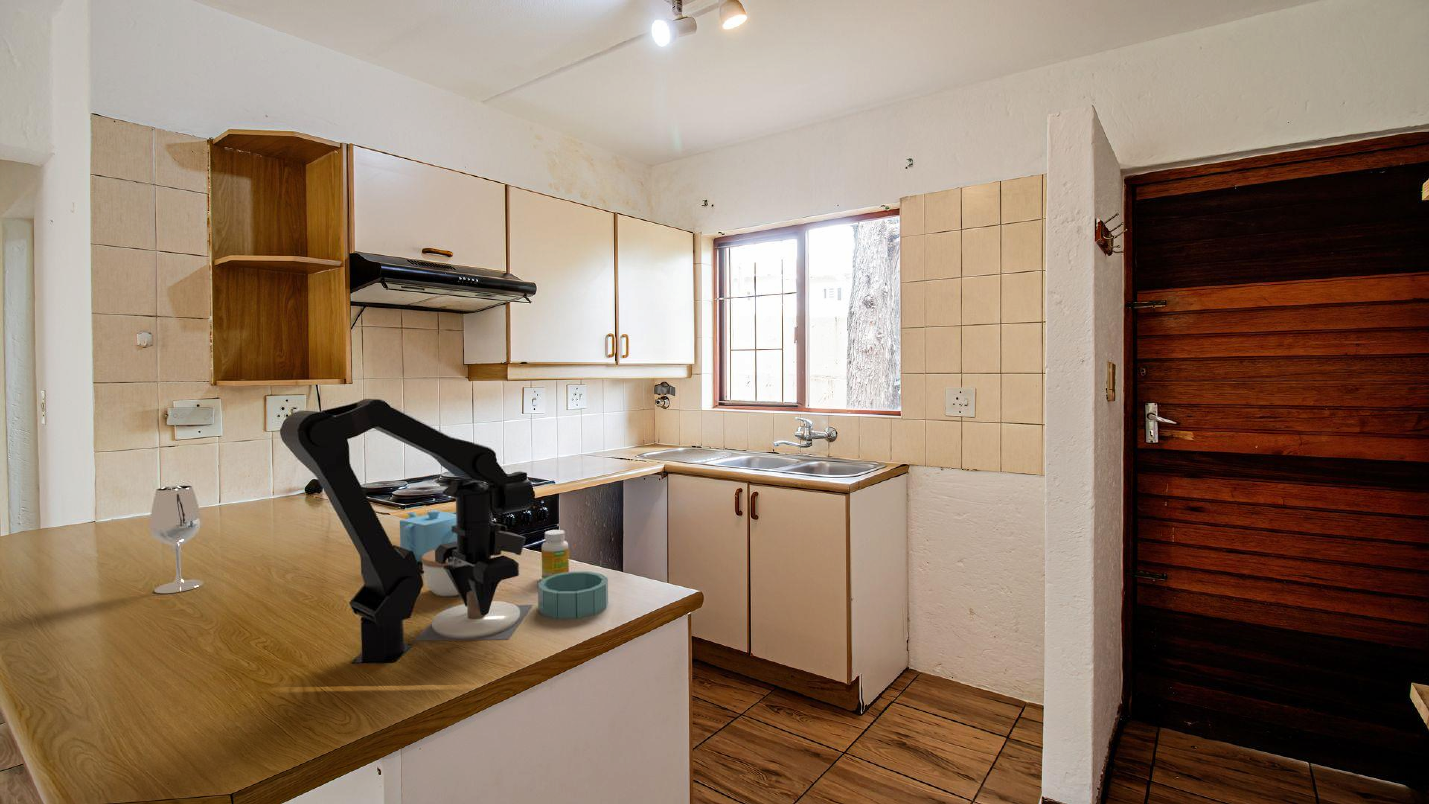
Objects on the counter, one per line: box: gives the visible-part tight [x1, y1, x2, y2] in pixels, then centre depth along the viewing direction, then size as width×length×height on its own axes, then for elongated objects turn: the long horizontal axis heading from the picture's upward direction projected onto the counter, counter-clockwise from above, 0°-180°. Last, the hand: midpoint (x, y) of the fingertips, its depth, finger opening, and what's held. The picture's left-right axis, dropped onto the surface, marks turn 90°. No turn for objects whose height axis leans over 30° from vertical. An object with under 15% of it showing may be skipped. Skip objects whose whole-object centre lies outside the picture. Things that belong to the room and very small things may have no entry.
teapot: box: [399, 509, 457, 564], centre depth 149 cm, size 16×18×11 cm
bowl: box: [537, 570, 609, 620], centre depth 118 cm, size 12×12×5 cm
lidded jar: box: [421, 550, 460, 597], centre depth 127 cm, size 11×11×9 cm
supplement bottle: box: [541, 529, 570, 580], centre depth 135 cm, size 5×5×10 cm
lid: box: [431, 591, 520, 639], centre depth 111 cm, size 14×14×5 cm
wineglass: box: [149, 485, 204, 595], centre depth 130 cm, size 8×8×20 cm
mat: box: [412, 604, 533, 642], centre depth 111 cm, size 15×15×1 cm
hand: (476, 610), depth 111 cm, fingers open, 5 cm apart
